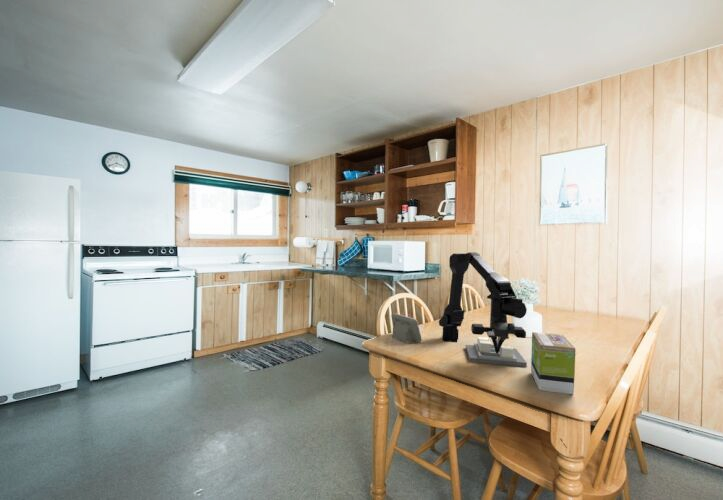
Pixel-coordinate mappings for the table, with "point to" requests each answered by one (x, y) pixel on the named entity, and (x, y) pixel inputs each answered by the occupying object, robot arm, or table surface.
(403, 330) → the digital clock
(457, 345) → the table surface
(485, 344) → the white cube block
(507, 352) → the tab
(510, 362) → the switch bank
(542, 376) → the tea box
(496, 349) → the robot arm
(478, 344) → the tab
